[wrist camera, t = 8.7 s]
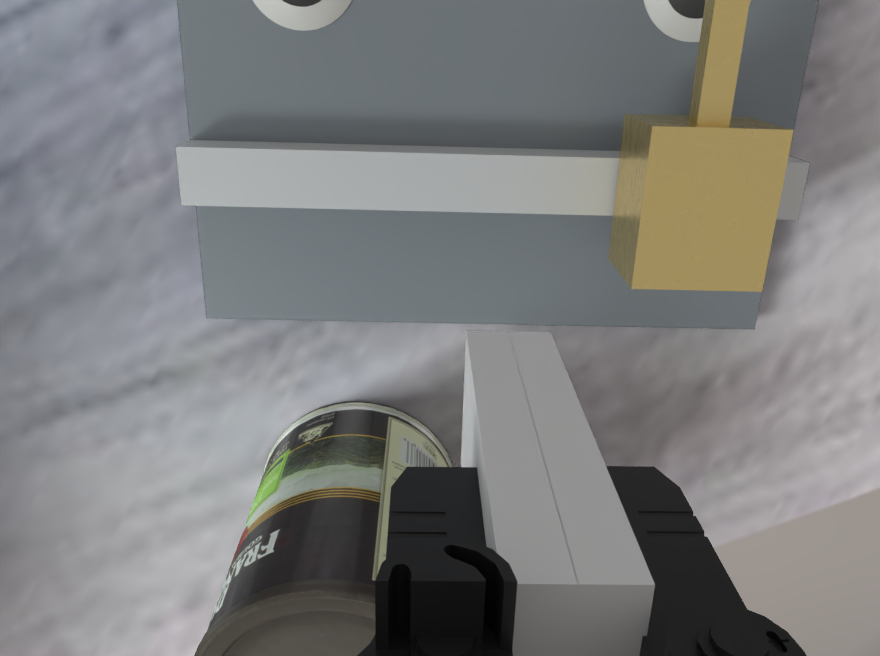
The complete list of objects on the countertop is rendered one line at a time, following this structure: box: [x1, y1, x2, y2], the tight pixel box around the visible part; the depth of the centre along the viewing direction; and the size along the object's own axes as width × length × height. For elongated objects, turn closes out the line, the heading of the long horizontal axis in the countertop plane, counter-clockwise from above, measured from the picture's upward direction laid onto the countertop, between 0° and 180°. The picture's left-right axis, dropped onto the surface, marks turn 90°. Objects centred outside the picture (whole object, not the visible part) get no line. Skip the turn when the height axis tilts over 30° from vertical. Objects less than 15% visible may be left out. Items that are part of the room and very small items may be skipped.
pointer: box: [608, 0, 794, 292], centre depth 29 cm, size 5×12×6 cm, turn 179°
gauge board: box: [176, 0, 819, 329], centre depth 30 cm, size 26×18×9 cm
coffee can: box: [194, 402, 452, 656], centre depth 34 cm, size 10×10×14 cm
